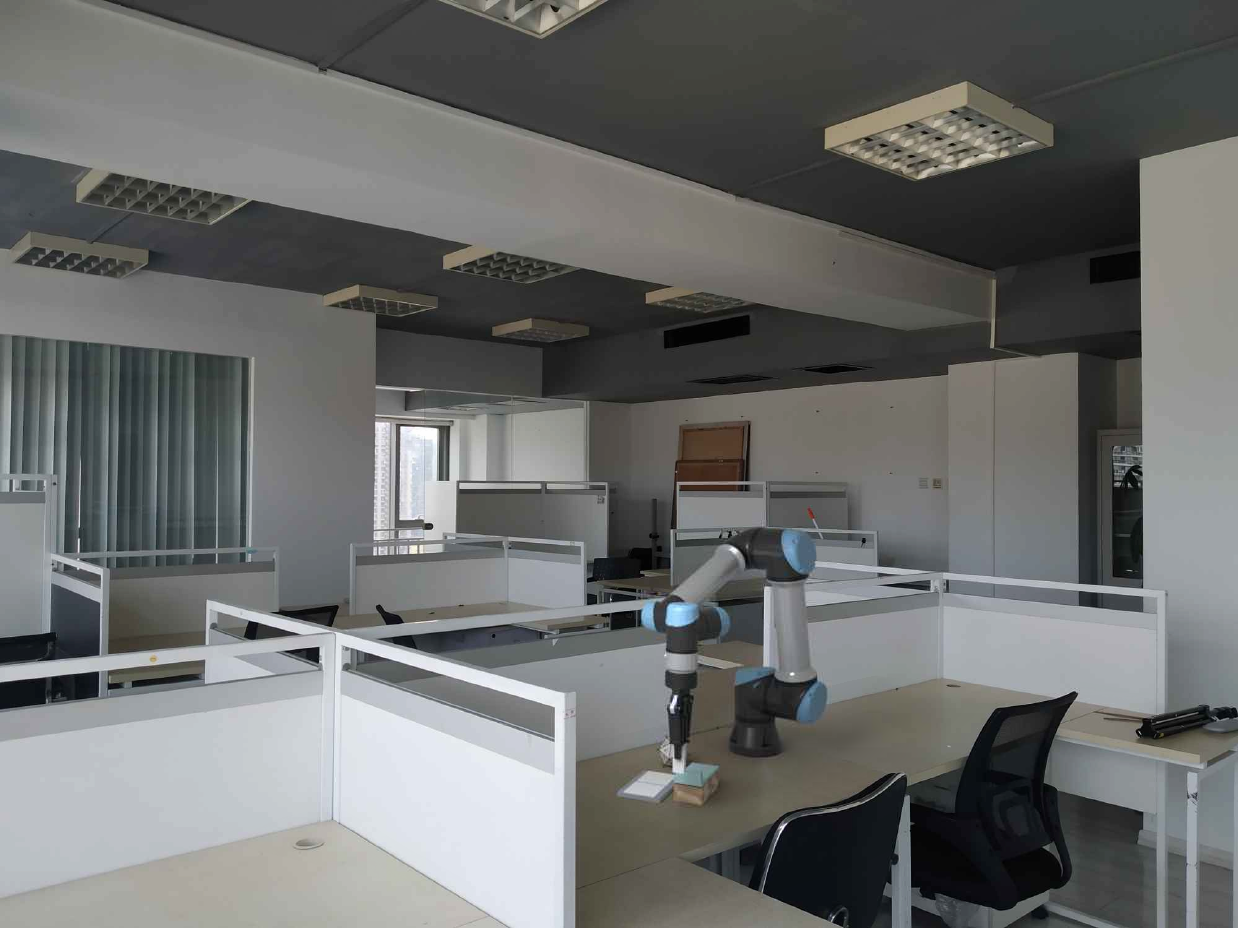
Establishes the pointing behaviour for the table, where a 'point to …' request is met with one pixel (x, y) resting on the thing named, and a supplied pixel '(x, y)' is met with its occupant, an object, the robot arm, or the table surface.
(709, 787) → the box
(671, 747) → the game die
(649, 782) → the board
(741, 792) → the table surface
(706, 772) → the lid
